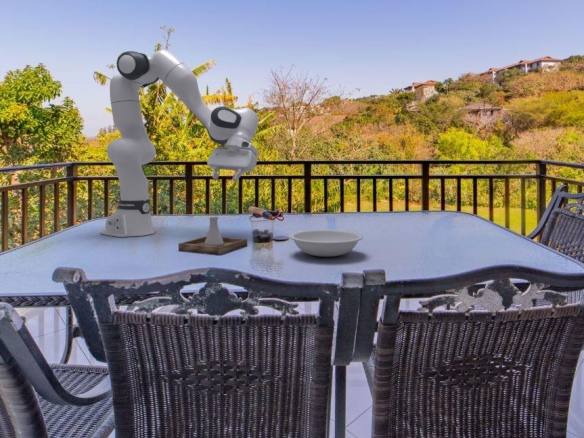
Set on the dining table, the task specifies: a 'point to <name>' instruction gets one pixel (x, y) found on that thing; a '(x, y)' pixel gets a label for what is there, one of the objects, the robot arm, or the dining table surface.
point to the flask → (214, 234)
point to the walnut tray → (199, 246)
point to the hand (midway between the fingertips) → (224, 179)
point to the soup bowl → (325, 241)
